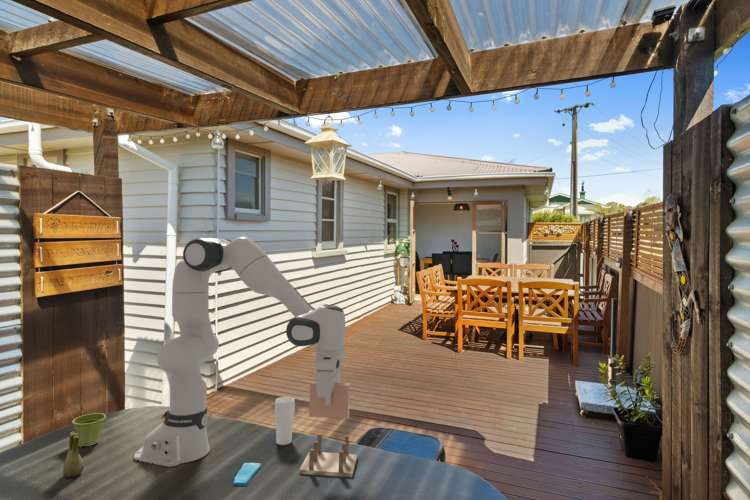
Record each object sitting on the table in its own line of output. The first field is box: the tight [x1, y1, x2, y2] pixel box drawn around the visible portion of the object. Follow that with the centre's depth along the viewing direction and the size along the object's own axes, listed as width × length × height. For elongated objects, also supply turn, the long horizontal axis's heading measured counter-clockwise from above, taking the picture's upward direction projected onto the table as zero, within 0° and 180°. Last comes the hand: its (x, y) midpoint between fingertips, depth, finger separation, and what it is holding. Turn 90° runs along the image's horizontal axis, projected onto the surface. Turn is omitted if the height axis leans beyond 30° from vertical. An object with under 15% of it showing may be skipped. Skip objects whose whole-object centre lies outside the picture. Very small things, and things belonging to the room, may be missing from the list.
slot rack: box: [298, 433, 358, 478], centre depth 130 cm, size 16×12×7 cm
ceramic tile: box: [308, 381, 351, 420], centre depth 127 cm, size 12×2×10 cm, turn 85°
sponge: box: [232, 462, 262, 487], centre depth 123 cm, size 2×12×6 cm
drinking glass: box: [274, 396, 296, 446], centre depth 145 cm, size 7×7×15 cm
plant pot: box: [71, 412, 107, 446], centre depth 141 cm, size 9×9×9 cm
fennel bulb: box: [62, 431, 85, 478], centre depth 121 cm, size 6×5×12 cm
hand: (329, 402), depth 127 cm, fingers closed on ceramic tile, 2 cm apart
